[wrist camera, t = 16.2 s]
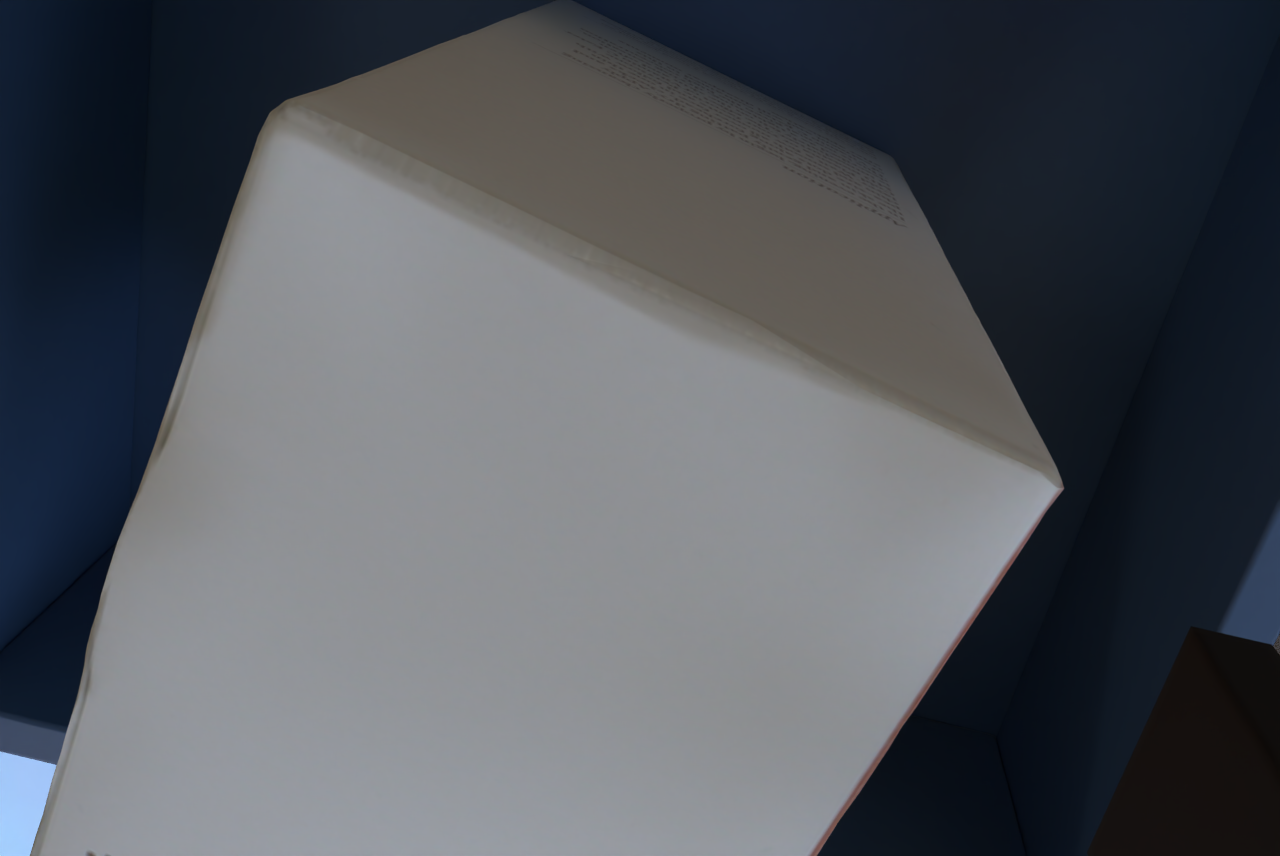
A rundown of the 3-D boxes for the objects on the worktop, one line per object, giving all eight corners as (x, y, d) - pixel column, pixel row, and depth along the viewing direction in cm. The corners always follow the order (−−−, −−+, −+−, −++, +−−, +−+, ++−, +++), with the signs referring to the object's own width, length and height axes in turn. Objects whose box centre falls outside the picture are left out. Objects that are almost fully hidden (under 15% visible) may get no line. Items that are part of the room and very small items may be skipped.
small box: (700, 535, 24) (621, 1170, 12) (396, 397, 23) (-11, 912, 11) (909, 151, 20) (1093, 482, 8) (562, -18, 20) (239, 82, 8)
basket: (115, 529, 26) (-102, 729, 20) (150, -367, 20) (-156, -505, 13) (1013, 744, 26) (1091, 1017, 19) (1357, -94, 19) (1646, -100, 13)
